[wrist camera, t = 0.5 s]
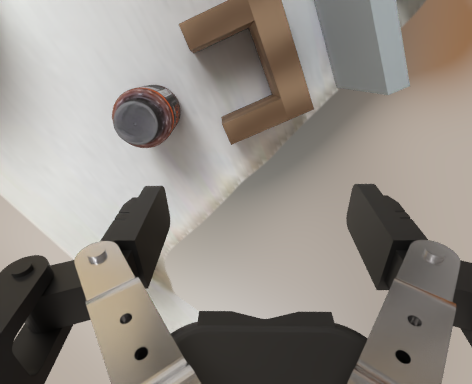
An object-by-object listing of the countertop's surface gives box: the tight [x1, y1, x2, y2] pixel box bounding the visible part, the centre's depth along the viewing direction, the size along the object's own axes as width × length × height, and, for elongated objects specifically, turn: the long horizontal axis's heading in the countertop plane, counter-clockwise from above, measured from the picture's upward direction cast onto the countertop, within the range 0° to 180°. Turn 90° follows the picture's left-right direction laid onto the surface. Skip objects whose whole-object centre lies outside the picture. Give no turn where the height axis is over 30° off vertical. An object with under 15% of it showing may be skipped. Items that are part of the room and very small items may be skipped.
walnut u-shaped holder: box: [179, 0, 314, 145], centre depth 33 cm, size 13×10×6 cm
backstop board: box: [314, 0, 410, 95], centre depth 29 cm, size 13×2×12 cm, turn 23°
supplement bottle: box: [112, 85, 180, 148], centre depth 32 cm, size 6×6×11 cm
